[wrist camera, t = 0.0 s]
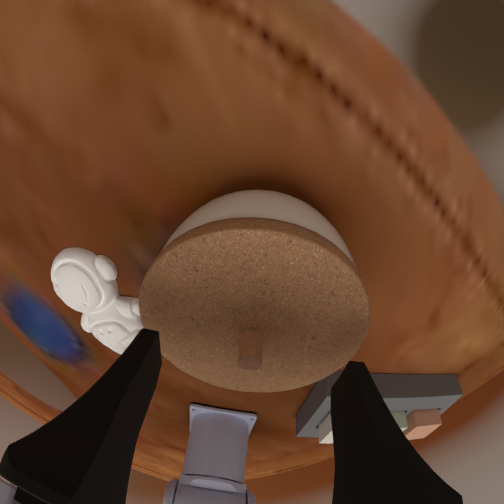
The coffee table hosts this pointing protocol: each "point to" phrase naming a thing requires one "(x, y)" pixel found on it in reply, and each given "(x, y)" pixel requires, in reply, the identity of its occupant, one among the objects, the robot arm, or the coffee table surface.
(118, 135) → the coffee table surface
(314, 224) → the lidded jar
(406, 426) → the sage key
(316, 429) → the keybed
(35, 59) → the coffee table surface
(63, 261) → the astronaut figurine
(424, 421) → the pink block
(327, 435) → the ivory key
